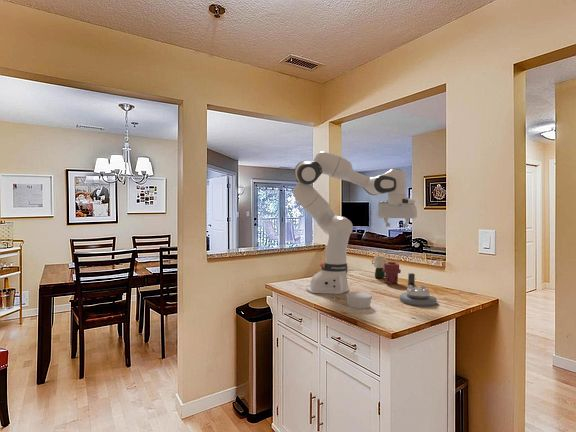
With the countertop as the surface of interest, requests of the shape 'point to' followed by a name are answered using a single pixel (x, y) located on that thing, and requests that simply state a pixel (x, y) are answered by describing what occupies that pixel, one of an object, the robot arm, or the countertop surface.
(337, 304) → the countertop surface
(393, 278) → the mechanical component
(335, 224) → the robot arm
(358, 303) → the ramekin
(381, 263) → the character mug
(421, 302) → the base
